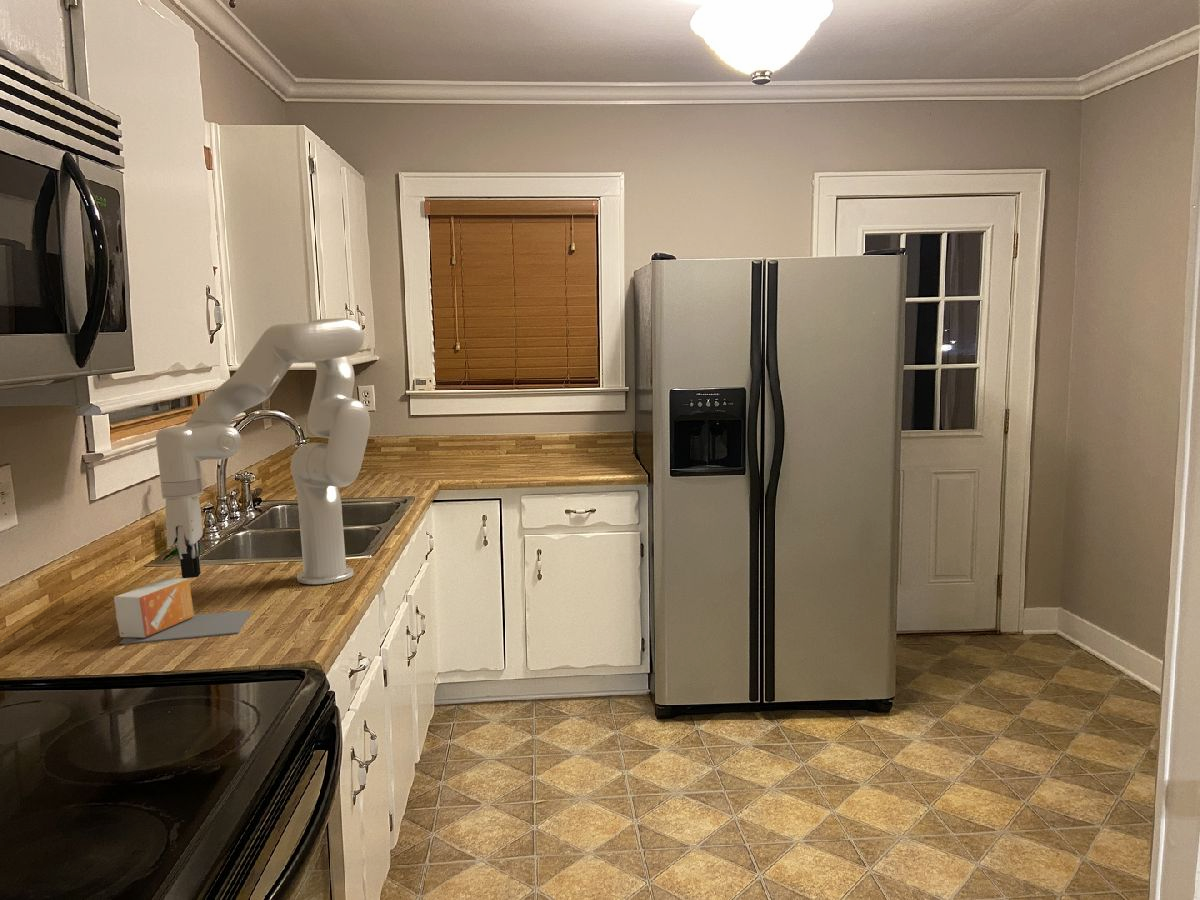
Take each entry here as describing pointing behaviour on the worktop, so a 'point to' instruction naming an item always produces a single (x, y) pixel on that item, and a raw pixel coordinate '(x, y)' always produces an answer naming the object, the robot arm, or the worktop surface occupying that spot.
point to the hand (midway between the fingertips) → (191, 576)
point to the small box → (153, 607)
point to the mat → (198, 627)
